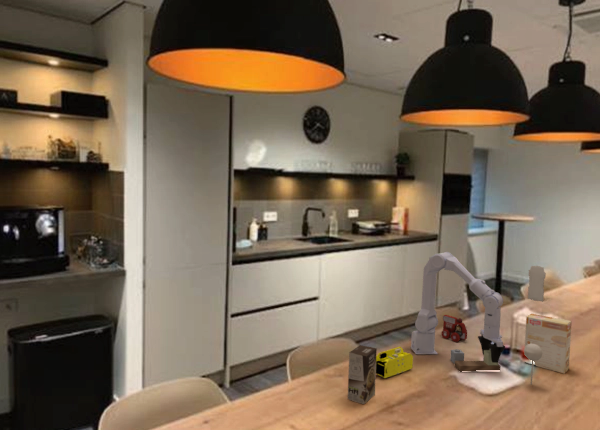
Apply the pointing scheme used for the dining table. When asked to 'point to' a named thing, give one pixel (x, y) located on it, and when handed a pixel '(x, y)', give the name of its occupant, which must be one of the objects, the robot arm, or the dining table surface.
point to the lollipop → (533, 354)
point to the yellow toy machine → (393, 362)
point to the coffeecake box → (550, 341)
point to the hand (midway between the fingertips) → (490, 358)
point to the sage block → (488, 358)
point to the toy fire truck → (453, 328)
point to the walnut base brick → (474, 366)
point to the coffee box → (362, 374)
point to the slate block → (456, 355)
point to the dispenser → (536, 283)
